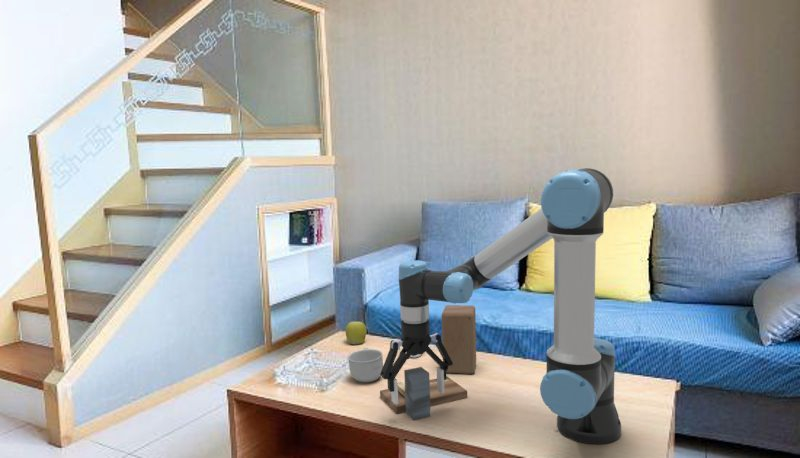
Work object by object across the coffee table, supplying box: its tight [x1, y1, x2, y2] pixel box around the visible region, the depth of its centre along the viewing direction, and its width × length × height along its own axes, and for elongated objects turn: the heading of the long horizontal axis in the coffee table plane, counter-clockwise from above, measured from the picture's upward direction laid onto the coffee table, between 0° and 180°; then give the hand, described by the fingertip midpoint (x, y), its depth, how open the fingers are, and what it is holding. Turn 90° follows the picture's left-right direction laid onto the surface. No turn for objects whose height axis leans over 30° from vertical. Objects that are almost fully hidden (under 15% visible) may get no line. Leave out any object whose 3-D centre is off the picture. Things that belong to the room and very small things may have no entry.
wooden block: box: [441, 304, 477, 375], centre depth 180 cm, size 10×10×20 cm
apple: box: [345, 319, 367, 345], centre depth 210 cm, size 8×8×10 cm
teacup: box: [347, 347, 384, 384], centre depth 177 cm, size 14×11×8 cm
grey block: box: [397, 366, 431, 421], centre depth 155 cm, size 16×5×12 cm, turn 24°
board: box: [379, 376, 468, 415], centre depth 161 cm, size 12×22×2 cm, turn 114°
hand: (418, 397), depth 150 cm, fingers open, 13 cm apart
